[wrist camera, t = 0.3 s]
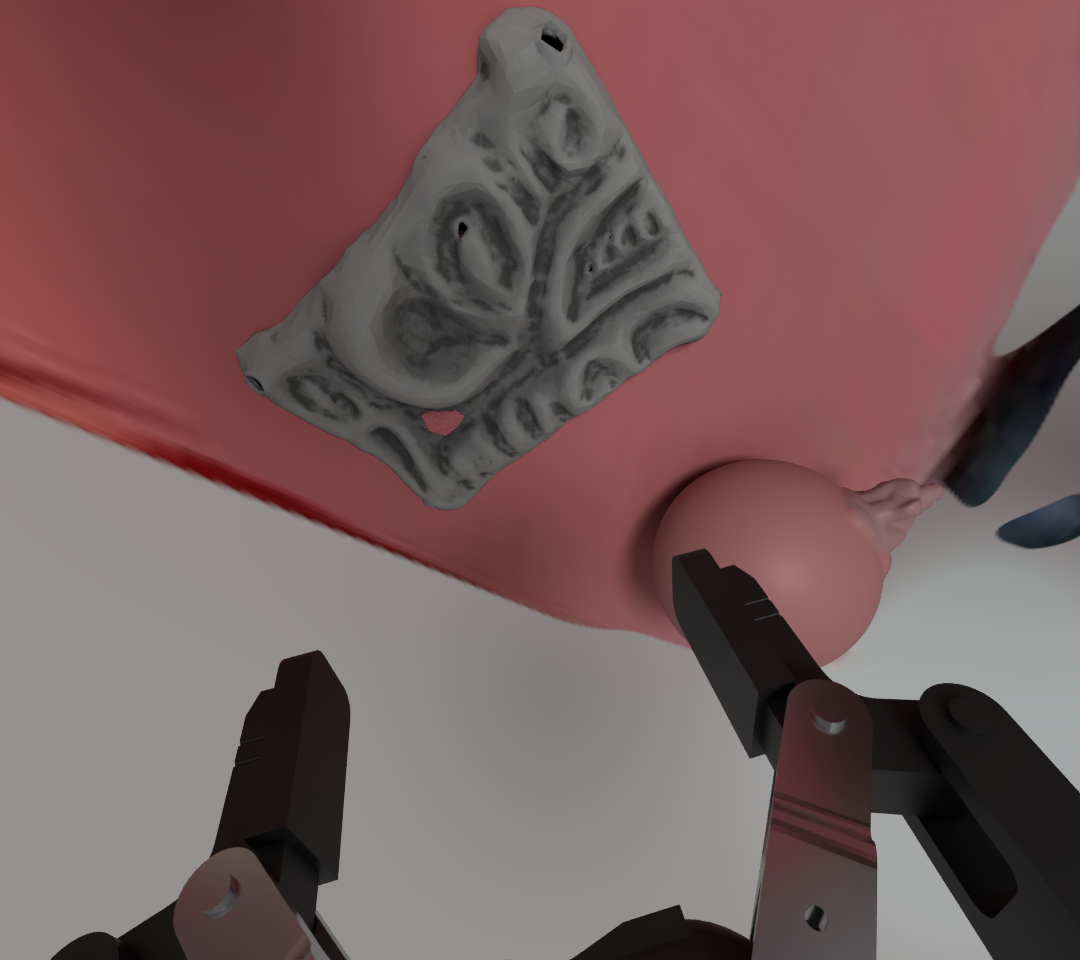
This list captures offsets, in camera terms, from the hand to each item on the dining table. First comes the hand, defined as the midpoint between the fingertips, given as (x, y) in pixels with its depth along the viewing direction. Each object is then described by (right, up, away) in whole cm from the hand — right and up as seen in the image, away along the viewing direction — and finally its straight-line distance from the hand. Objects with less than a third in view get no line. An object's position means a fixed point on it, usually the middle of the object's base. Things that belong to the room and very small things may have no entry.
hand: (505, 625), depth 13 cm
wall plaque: (-3, +13, +19) cm, 24 cm away
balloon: (+17, +4, +34) cm, 38 cm away
